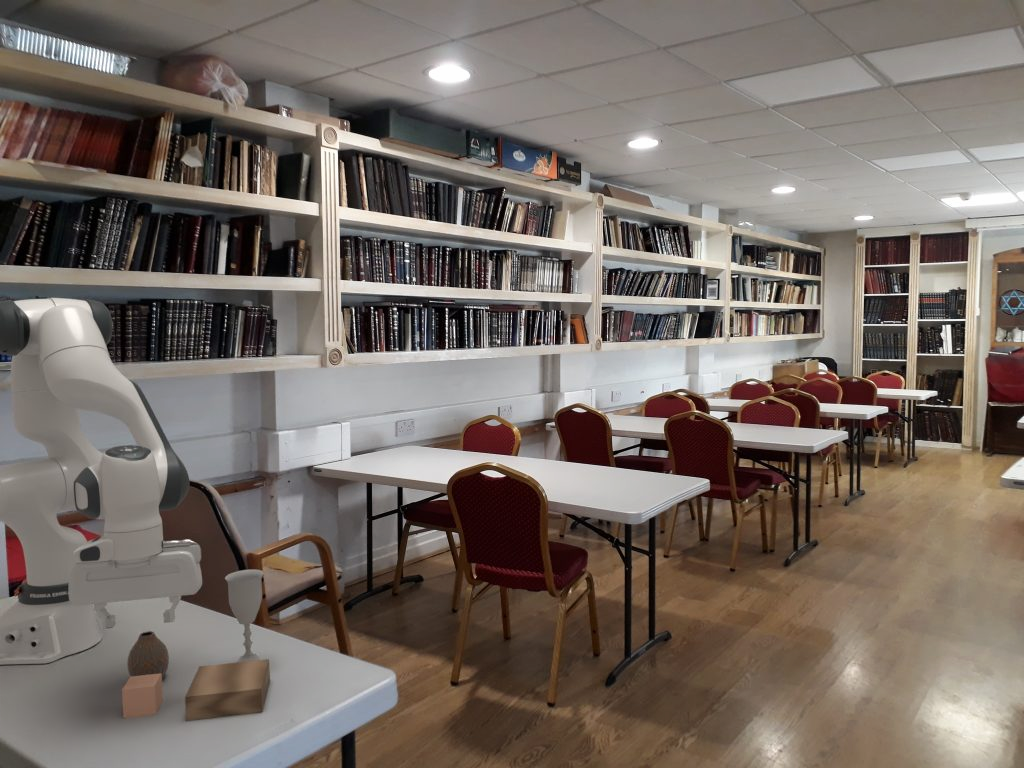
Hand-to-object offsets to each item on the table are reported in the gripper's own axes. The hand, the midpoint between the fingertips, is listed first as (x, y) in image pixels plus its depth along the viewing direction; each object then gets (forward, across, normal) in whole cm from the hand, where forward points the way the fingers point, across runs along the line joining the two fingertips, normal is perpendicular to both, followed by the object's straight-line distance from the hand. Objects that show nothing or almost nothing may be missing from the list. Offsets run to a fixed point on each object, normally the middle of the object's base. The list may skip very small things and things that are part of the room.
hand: (139, 624), depth 130 cm
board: (+15, -14, 0) cm, 20 cm away
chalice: (+15, -15, -13) cm, 25 cm away
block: (+15, 0, 0) cm, 15 cm away
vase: (+15, +2, -12) cm, 20 cm away
